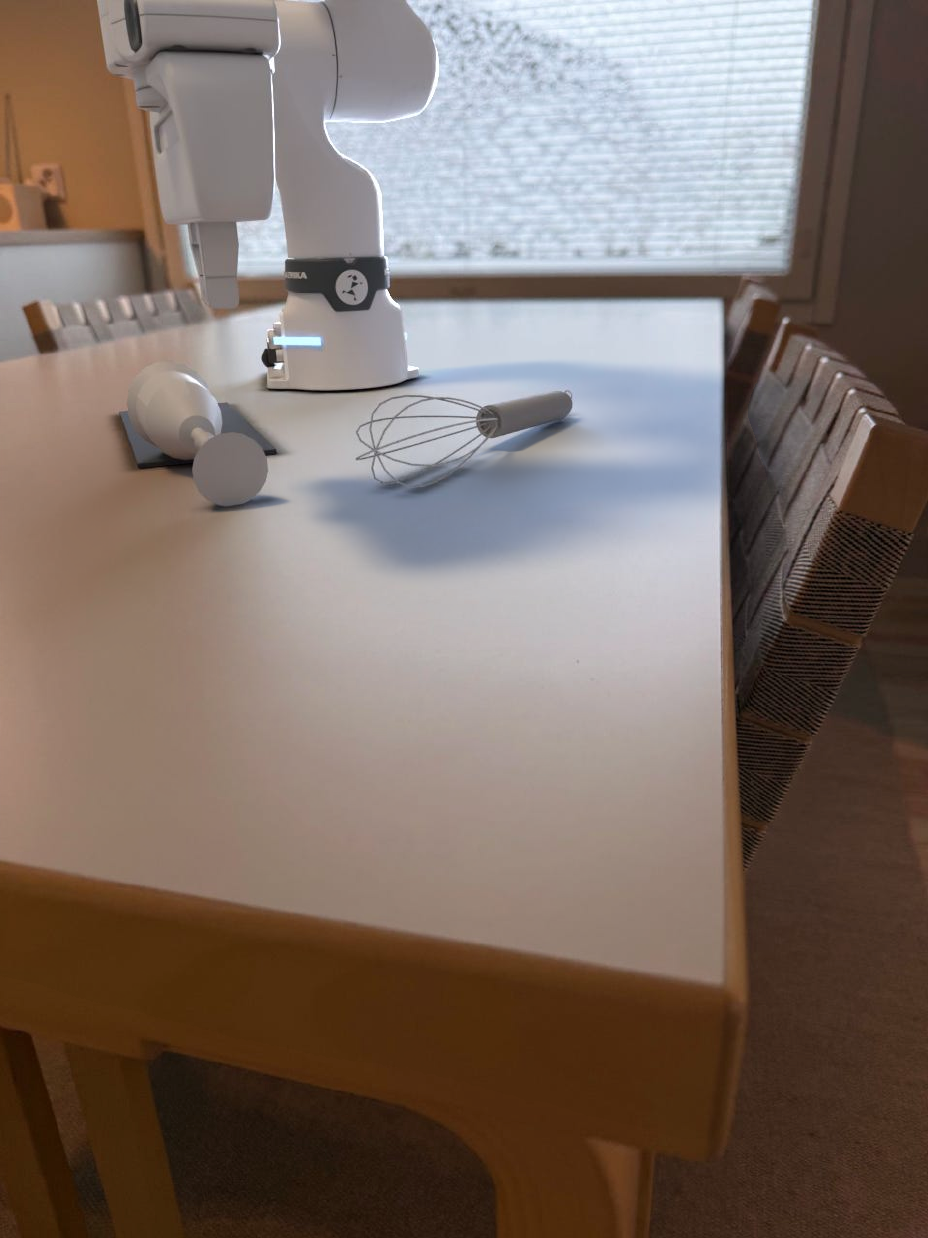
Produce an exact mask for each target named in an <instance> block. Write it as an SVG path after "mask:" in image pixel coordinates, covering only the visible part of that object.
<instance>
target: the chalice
mask: <svg viewBox="0 0 928 1238" xmlns="http://www.w3.org/2000/svg"><path fill="white" fill-rule="evenodd" d="M218 403H219V402H217V399H216V398H215V396H213V394H212V393H211V392H210V389H209V387H208V385H207V382H206V381H205V380H204V379H203V378H202V377H201V375H200V374H199V373H198V372H197V371H195V370H194V369H193V368H191V367H189V366H188V365H187V364H184V363H180V362H175V361H173V360H167V361H156V362H155V363H152V364H150V365H148V366H146V367H144V368H143V369H142V370H140V372H139V373H137V375H136V376H134V378H133V381H132V382H131V385H130V387H129V389H128V394H127V402H126V406H127V411H128V412H129V418H130V420H131V422H132V424H133V426H134V428H135V430H136V431H137V432H138V433H139V434H140V435H141V436H142V437H143V438H144V439H145V441H147V442H149V443H151V444H153V445H154V446H156V447H158V448H159V449H160V450H161V451H162V452H163V453H165V454H167V455H169V456H170V457H172V458H177V459H182V460H189V459H194V463H192V468H191V469H192V470H191V471H192V477H193V478H192V479H193V482H194V485H195V487H196V489H197V491H198V492H199V493H200V494H201V496H203V497H204V498H205V499H206V500H207V501H208V502H211V503H213V504H215V505H217V506H222V507H232V506H239V505H242V504H246V503H247V502H250V501H251V500H253V499H254V498H255V497H256V496H257V495H258V494H259V493H260V492H261V491H262V489H263V487H264V486H265V483H266V481H267V476H268V472H269V466H268V458H267V455H265V454H264V451H263V449H262V448H261V447H260V445H259V444H258V443H257V442H256V441H255V440H254V439H252V438H250V437H248V436H246V435H245V434H240V433H235V432H229V433H222V434H221V428H222V416H221V410H220V408H219V406H218Z"/></svg>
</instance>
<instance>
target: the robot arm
mask: <svg viewBox="0 0 928 1238" xmlns="http://www.w3.org/2000/svg"><path fill="white" fill-rule="evenodd" d="M96 3H97V10H98V17H99V25H100V31H101V37H102V38H101V39H102V44H103V51H104V57H105V63H106V69H107V70H108V72H109V73H111V74H112V75H114V76H118V77H120V78H124V79H129V80H133V86H134V91H135V101H136V106H137V107H138V108H139V109H140V110H142V111H148V112H149V127H150V135H151V136H150V137H151V144H152V152H153V160H154V161H153V162H154V169H155V177H156V178H155V179H156V186H157V192H158V201H159V207H160V211H161V214H162V218H163V220H164V223H166V224H167V225H173V226H175V225H177V226H178V225H179V226H180V225H184V226H186V225H187V232H188V240H189V246H190V250H191V254H192V257H193V261H194V264H195V269H196V272H197V275H198V282H199V290H200V296H201V297H200V298H201V301H202V303H203V304H204V305H205V306H207V307H208V308H211V309H213V310H216V311H217V310H234V309H237V307H238V306H239V305H240V294H239V293H240V292H239V286H238V285H239V284H238V283H239V282H238V266H239V263H238V262H239V246H240V242H239V235H238V234H239V233H238V225H237V223H243V222H258V221H266V220H268V219H269V218H270V217H271V215H272V211H273V205H274V198H275V197H274V196H275V185H276V186H277V191H278V194H279V200H280V206H281V210H282V211H281V212H282V219H283V224H284V225H283V226H284V232H285V243H286V252H287V258H285V260H284V272H283V277H284V282H285V283H284V286H285V287H284V288H285V291H286V292H288V293H287V297H286V302H285V304H284V307H283V308H281V312H280V313H279V314H278V315H279V322H275V323H272V328H271V329H267V331H266V332H267V338H266V348H264V349H263V352H262V354H261V357H260V359H261V363H262V364H263V365H264V367H266V368H267V369H266V370H267V372H266V373H267V375H266V376H267V377H266V389H271V390H304V391H350V390H363V389H373V388H380V387H381V388H382V387H386V386H392V385H396V384H397V385H398V384H400V383H402V382H404V381H407V380H411V379H416V378H418V377H420V376H421V375H420V370H419V367H415V366H410V365H409V363H408V362H409V361H408V352H407V351H408V350H407V340H408V333H407V332H405V323H404V313H403V309H402V307H401V306H400V305H399V304H398V303H397V302H396V301H394V299H393V298H392V297H391V296H390V293H389V291H388V289H389V288H390V287H391V281H390V275H391V269H390V266H389V258H388V256H386V255H385V245H384V244H385V243H384V228H383V226H384V225H383V210H382V209H383V207H382V192H381V189H380V186H379V184H378V181H377V180H376V178H375V177H374V175H373V174H372V173H371V172H370V171H369V170H368V169H367V168H366V167H364V166H363V165H361V164H360V163H359V162H357V161H355V160H353V159H351V158H349V157H348V156H346V155H344V154H342V153H340V152H339V151H338V150H337V149H336V147H335V145H334V144H333V143H332V141H331V139H330V137H329V134H328V131H327V129H326V124H325V123H327V122H331V123H332V122H333V123H335V122H336V123H379V124H380V123H386V122H391V121H397V120H401V119H406V118H410V117H413V116H417V115H419V114H421V113H422V112H423V111H424V110H425V108H426V107H427V106H428V105H429V103H430V101H431V99H432V97H433V95H434V92H435V89H436V87H437V84H438V78H439V56H438V50H437V47H436V46H437V45H436V43H435V40H434V38H433V35H432V33H431V32H430V30H429V28H428V26H427V25H426V23H425V21H423V19H421V18H420V17H419V15H417V13H416V12H415V11H414V10H413V8H411V6H410V5H409V3H408V2H407V0H321V1H318V2H317V1H301V0H96Z"/></svg>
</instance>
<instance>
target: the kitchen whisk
mask: <svg viewBox="0 0 928 1238" xmlns="http://www.w3.org/2000/svg"><path fill="white" fill-rule="evenodd" d="M567 392H568V393H569V394H568V393H567ZM401 398H423V399H420V400H417V401H415V402H413V403H410V404H408V405H406V407H404V408H403V409H402V410H400V411H399V412H397V413H396V414H395V415H394V416H390V417H384V418H383V417H382V418H379V419H374V415H375V413H376V412H377V410H378V409H379V408H380V406H381V405H383V404H386V403H388V402H389V401H391V400H395V399H401ZM432 400H438V401H443V402H447V403H451V404H455V405H458V406H461V407H466V408H468V409H472V410H473V411H478V412H477V414H476V416H470V415H403V416H401V414H402V413H404V412H405V411H406V410H408V409H409V408H410V407H412V406H415V405H417V404H420V403H422V402H426V401H427V402H428V401H432ZM461 402H463V403H461ZM464 403H465V404H464ZM467 404H469V405H467ZM470 405H472V406H475V407H472V406H470ZM476 407H477V408H476ZM572 409H573V393H572V392H571V391H570V390H568V389H566V390H564V391H561V390H553V391H548V392H544V393H539V394H534V395H529V396H525V397H520V398H516V399H510V400H507V401H502V402H496V403H492V404H487V405H484V406H481V405H478V404H476V403H474V402H471V401H469V400H465V399H461V398H457V397H450V396H429V395H421V394H404V395H397V396H392V397H389V398H387V399H385V400H383V401H381V402H379V403H378V405H377V406H376V407H375V409H373V411H372V413H371V415H370V420H369V421H367V422H365V423H362V424H359V425H358V427H357V429H356V431H355V434H356V436H357V439H358V440H359V442H360V443H362V444H363V445H364V446H366V447H367V448H369V451H366V452H365V453H363V454H360V455H358V456H357V457H356V458H355V460H356V461H362V460H367V459H371V458H372V462H371V467H370V469H371V473H372V476H373V479H374V480H375V481H377V482H379V483H380V484H381V485H385V484H396V483H397V484H399V485H402V486H405V487H407V488H424V487H427V486H430V485H433V484H436V483H438V482H440V481H441V480H443V479H445V478H447V477H449V476H450V475H451V474H452V473H454V472H455V471H456V470H458V469H459V468H460V467H461V466H463V465H464V464H465V463H466V462H467V461H468V460H469V459H470V458H472V456H473V455H474V454H475V453H476V452H477V451H478V450H479V449H480V448H481V447H482V446H483V445H484V444H485V443H486V442H487V441H488V440H489V439H496V438H498V437H502V436H503V437H504V436H506V435H510V434H513V433H516V432H520V431H525V430H527V429H532V428H536V427H538V426H542V425H545V424H548V423H553V422H557V421H560V420H563V419H565V418H566V417H567V416H568V415H569V414H570V413H571V412H572ZM413 418H459V419H474V420H469V421H463V422H458V423H453V424H449V425H445V426H441V427H438V428H434V429H429V430H426V431H423V432H420V433H416V434H413V435H409V436H407V437H404V438H401V439H398V440H396V441H392V442H389V443H386V444H385V445H382V446H380V445H381V442H382V440H383V437H384V435H385V433H386V431H387V430H388V429H389V427H390V426H391V425H392V423H393V422H394V421H395V420H399V419H413ZM387 420H388V421H389V420H390V421H389V423H388V424H387V425H386V427H385V428H384V429H383V430H382V433H381V435H380V437H379V439H378V442H377V444H376V445H375V440H374V435H373V430H372V427H373V423H377V422H382V421H387ZM471 423H475V426H470V427H468V428H465V429H461V430H457V431H454V432H451V433H448V434H445V435H441V436H438V437H433V438H431V439H427V440H424V441H421V442H417V443H414V444H409V445H406V446H402V447H399V448H396V449H392V450H388V451H385V452H381V450H382V449H385V448H388V447H390V446H393V445H395V444H399V443H402V442H404V441H407V440H410V439H413V438H416V437H420V436H424V435H426V434H429V433H434V432H437V431H441V430H444V429H449V428H452V427H456V426H461V425H467V424H471ZM367 425H369V430H368V431H369V435H370V438H371V444H372V446H371V445H370V444H368V443H366V442H365V441H364V440H363V439H361V437H360V434H359V431H360V430H361V428H362V427H365V426H367ZM473 429H477V430H478V433H479V434H478V435H476V436H475V437H474V438H471V440H469V441H468V442H466V443H465V444H464V445H462V446H461V447H460V446H459V448H457V449H456V450H454V451H453V452H451V453H450V454H447V455H446V456H445V457H443V458H442V459H440V460H438V461H437V462H435V463H431V464H425V463H423V464H422V463H410V462H407V461H403V460H400V459H397V458H393V457H392V456H389V455H387V454H390V453H394V452H399V451H402V450H405V449H409V448H412V447H417V446H419V445H423V444H426V443H429V442H433V441H436V440H439V439H442V438H446V437H449V436H453V435H457V434H460V433H462V432H467V431H470V430H473ZM481 436H483V437H485V438H484V439H483V441H482V442H481V443H480V444H479V445H478V446H476V447H475V448H474V449H472V450H470V451H469V452H467V453H466V454H464V455H461V456H460V457H458V458H455V459H452V460H449V461H446V462H443V461H445V460H446V459H448V458H450V457H451V456H453V455H455V454H456V453H457V452H459V451H461V450H462V449H464V448H465V447H467V446H468V445H469V444H471V443H472V442H474V441H475V440H477V439H478V438H479V437H481ZM379 446H380V447H379ZM372 453H373V455H370V454H372ZM367 455H369V456H367ZM380 456H381V457H385V458H386V459H388V460H391V461H393V462H397V463H401V464H404V465H407V466H411V467H425V468H423V469H422V470H420V471H417V472H415V473H414V474H411V475H409V476H407V477H406V476H405V477H403V478H400V479H396V478H395V477H394V476H393V475H392V474H391V473H390V472H389V471H388V470H387V469H386V468H385V465H384V463H383V461H382V459H381V457H380ZM466 457H467V458H466ZM376 458H377V459H378V462H379V464H380V465H381V467H382V470H383V471H384V472H385V473H386V474H387V475H388V476H389V477H390V478H391V479H392V481H382V480H380V479H378V478H377V477H376V473H375V470H374V466H375V460H376ZM463 458H465V459H464V460H463V461H462V462H461V463H460V464H459V465H457V466H456V467H455V468H453V469H452V470H451V471H449V472H448V473H446V474H445V475H443V476H441V477H439V478H437V479H436V480H433V481H431V482H427V483H424V484H415V485H414V484H413V485H412V484H411V485H410V484H407V483H404V482H402V481H406V480H409V479H411V478H413V477H415V476H417V475H419V474H421V473H424V472H425V471H427V470H429V469H431V468H433V467H438V466H445V465H449V464H451V463H455V462H459V461H460V460H461V459H463Z"/></svg>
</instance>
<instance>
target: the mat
mask: <svg viewBox="0 0 928 1238" xmlns="http://www.w3.org/2000/svg"><path fill="white" fill-rule="evenodd" d="M217 403H218V406H219V408H220V410H221V416H222V428H221V434H222V433H229V432H235V433H240V434H245V435H246V436H248V437H250V438H252V439H254V440H255V441H256V442H257V443H258V444H259V445H260V447H261V448H262V449H263V451H264V454H265V456H267V455H269V456H270V455H276V454H277V453H278V451H277V448H276V447H275V446H274V445H272V444H271V443H270V441H268V439H266V438H265V437H264V436H263V435H262V434H261V433H260V432H259V431H258V430H257V429H256V428H255V427H253V425H252V424H251V423H250V422H248V420H246V419H245V418H244V417H243V416H242V415H241V413H239V412H238V411H237V410H236V409H235V408H234V407H233V406H232V405H230V403H229V402H227V401H226V402H217ZM118 413H119V417H120V420H121V423H122V426H123V428H124V431H125V434H126V438H127V440H128V443H129V446H130V448H131V451H132V454H133V457H134V461H135V463H136V466H137V469H146V468H147V469H148V468H157V467H165V466H166V467H167V466H175V465H184V464H185V465H186V464H193V463H194V459H189V460H182V459H177V458H172V457H170V456H169V455H167V454H165V453H163V452H162V451H161V450H160V449H159V448H158V447H156V446H154V445H153V444H151V443H149V442H147V441H145V439H144V438H143V437H142V436H141V435H140V434H139V433H138V432H137V431H136V430H135V428H134V426H133V424H132V422H131V420H130V418H129V412H128V410H122V411H121V410H120V411H119V412H118Z"/></svg>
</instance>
